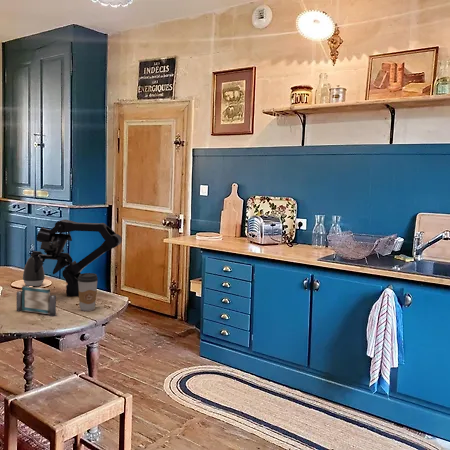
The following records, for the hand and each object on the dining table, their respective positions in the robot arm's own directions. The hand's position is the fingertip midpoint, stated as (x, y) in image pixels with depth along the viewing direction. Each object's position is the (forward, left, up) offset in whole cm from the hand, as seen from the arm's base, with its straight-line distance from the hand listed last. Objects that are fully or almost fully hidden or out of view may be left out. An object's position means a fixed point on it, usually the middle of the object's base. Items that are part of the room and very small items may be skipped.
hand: (44, 273), depth 210 cm
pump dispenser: (+7, -28, -13) cm, 32 cm away
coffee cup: (-19, +15, -13) cm, 27 cm away
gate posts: (+2, +18, -13) cm, 22 cm away
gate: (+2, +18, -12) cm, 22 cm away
